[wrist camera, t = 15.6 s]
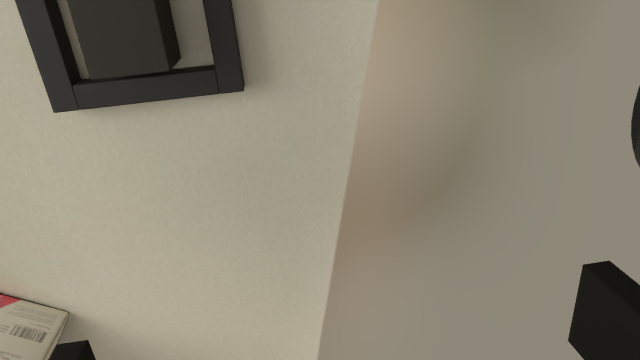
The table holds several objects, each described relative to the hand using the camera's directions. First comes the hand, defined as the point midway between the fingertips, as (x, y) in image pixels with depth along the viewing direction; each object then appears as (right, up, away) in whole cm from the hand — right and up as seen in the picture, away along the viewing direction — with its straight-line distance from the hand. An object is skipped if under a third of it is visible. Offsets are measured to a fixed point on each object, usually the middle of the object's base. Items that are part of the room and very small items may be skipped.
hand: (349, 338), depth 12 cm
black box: (-14, +17, +20) cm, 29 cm away
